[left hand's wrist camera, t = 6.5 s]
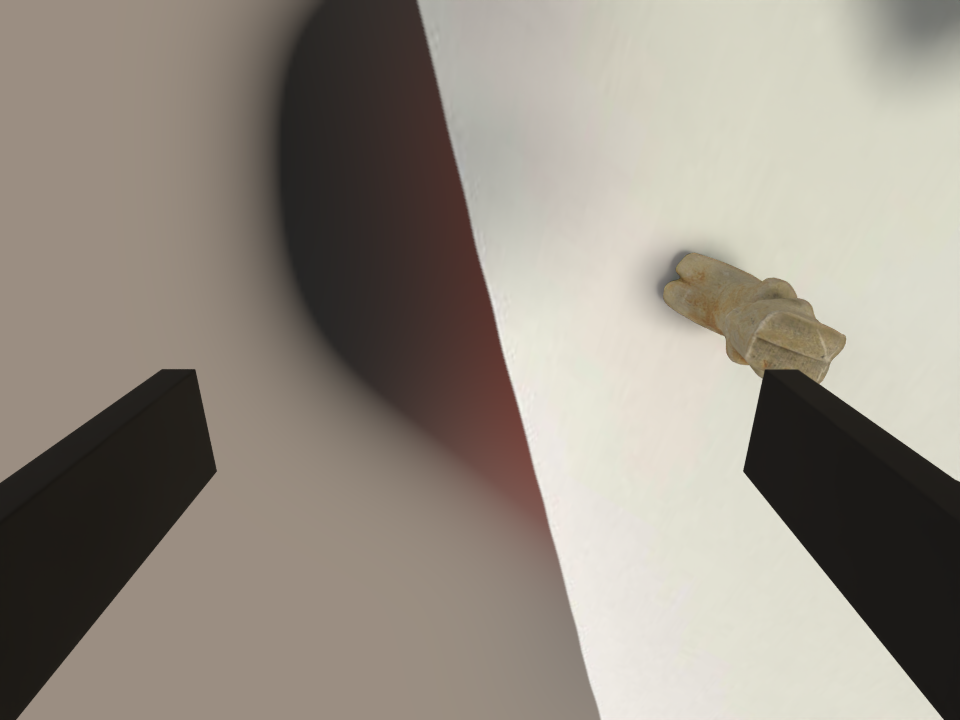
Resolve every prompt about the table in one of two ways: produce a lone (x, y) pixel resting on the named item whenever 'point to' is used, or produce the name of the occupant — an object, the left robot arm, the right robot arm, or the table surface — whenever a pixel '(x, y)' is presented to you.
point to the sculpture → (754, 317)
